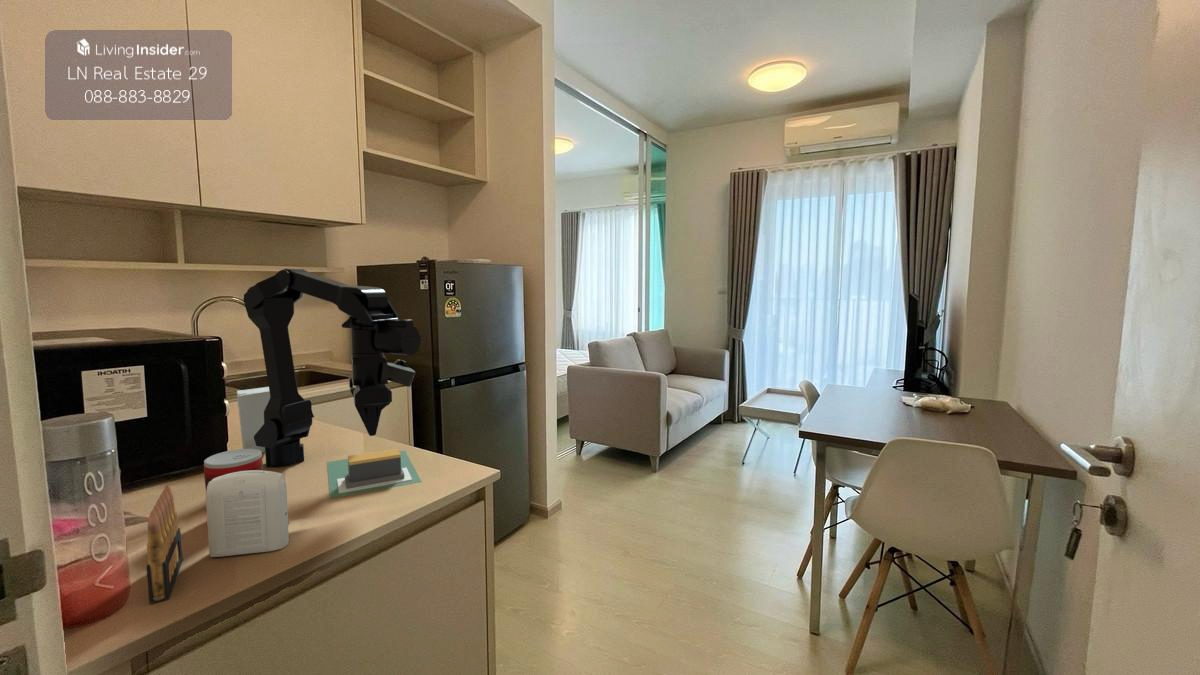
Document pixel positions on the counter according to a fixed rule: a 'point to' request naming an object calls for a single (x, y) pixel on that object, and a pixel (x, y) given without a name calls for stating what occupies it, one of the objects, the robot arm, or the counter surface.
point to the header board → (344, 487)
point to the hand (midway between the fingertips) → (370, 428)
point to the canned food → (232, 463)
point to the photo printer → (247, 513)
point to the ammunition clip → (163, 548)
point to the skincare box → (252, 414)
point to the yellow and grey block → (374, 464)
